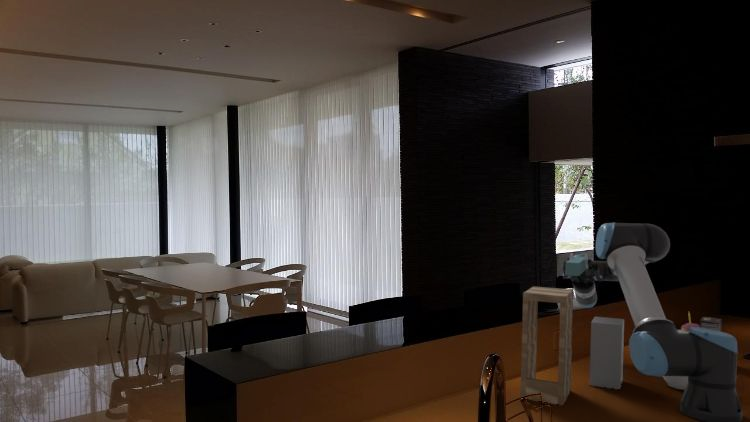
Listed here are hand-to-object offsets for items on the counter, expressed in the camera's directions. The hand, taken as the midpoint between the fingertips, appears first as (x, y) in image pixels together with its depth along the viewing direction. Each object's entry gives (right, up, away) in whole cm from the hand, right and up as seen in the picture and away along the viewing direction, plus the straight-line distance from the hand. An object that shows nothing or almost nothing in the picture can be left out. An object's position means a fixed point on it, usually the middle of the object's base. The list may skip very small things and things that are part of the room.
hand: (578, 256), depth 205 cm
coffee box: (+53, -40, +17) cm, 69 cm away
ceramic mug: (+55, -40, +36) cm, 77 cm away
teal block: (-2, -5, -3) cm, 6 cm away
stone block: (+6, -40, -9) cm, 41 cm away
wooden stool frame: (-17, -40, -21) cm, 48 cm away
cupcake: (+66, -39, +55) cm, 94 cm away
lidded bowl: (+29, -40, -10) cm, 51 cm away
